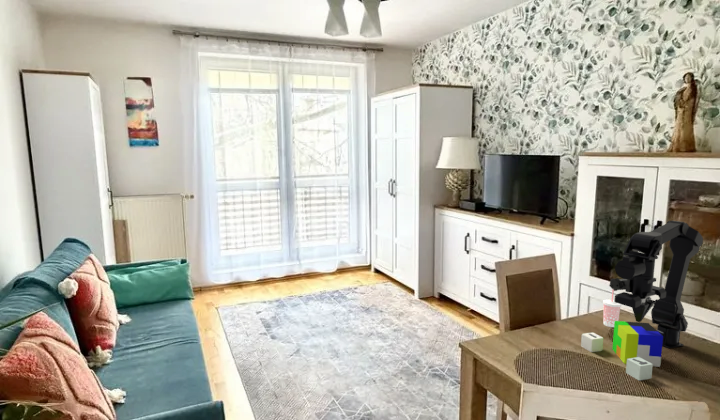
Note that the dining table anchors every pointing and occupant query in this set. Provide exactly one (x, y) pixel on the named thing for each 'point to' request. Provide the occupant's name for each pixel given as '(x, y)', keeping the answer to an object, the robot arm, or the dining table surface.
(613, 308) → the beverage cup
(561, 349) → the dining table surface
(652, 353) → the puzzle toy
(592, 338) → the digit block one
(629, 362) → the digit block seven
